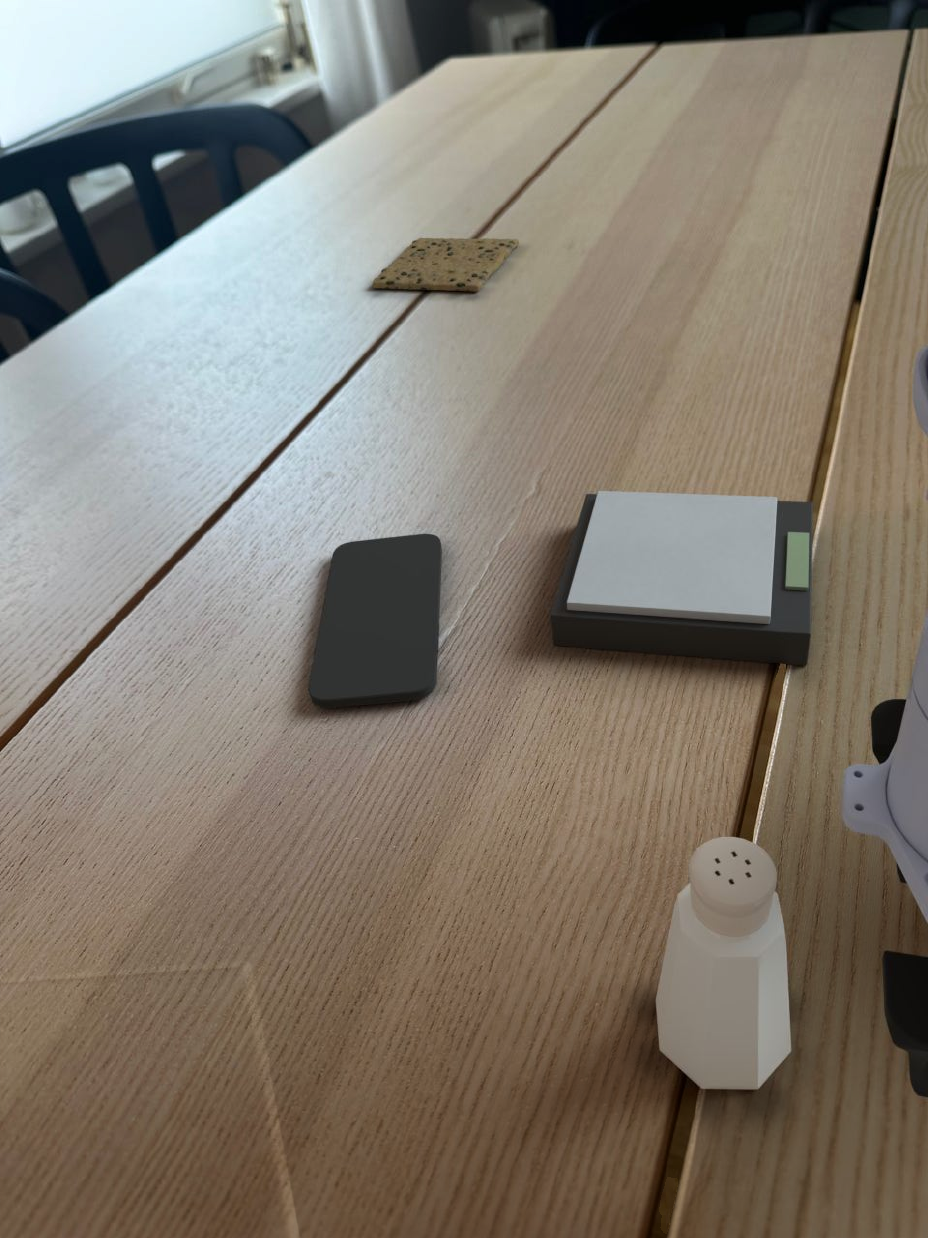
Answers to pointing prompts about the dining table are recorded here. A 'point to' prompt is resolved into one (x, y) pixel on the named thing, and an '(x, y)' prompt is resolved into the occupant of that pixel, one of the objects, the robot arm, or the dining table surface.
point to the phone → (379, 623)
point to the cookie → (446, 264)
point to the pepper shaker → (726, 970)
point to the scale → (689, 577)
